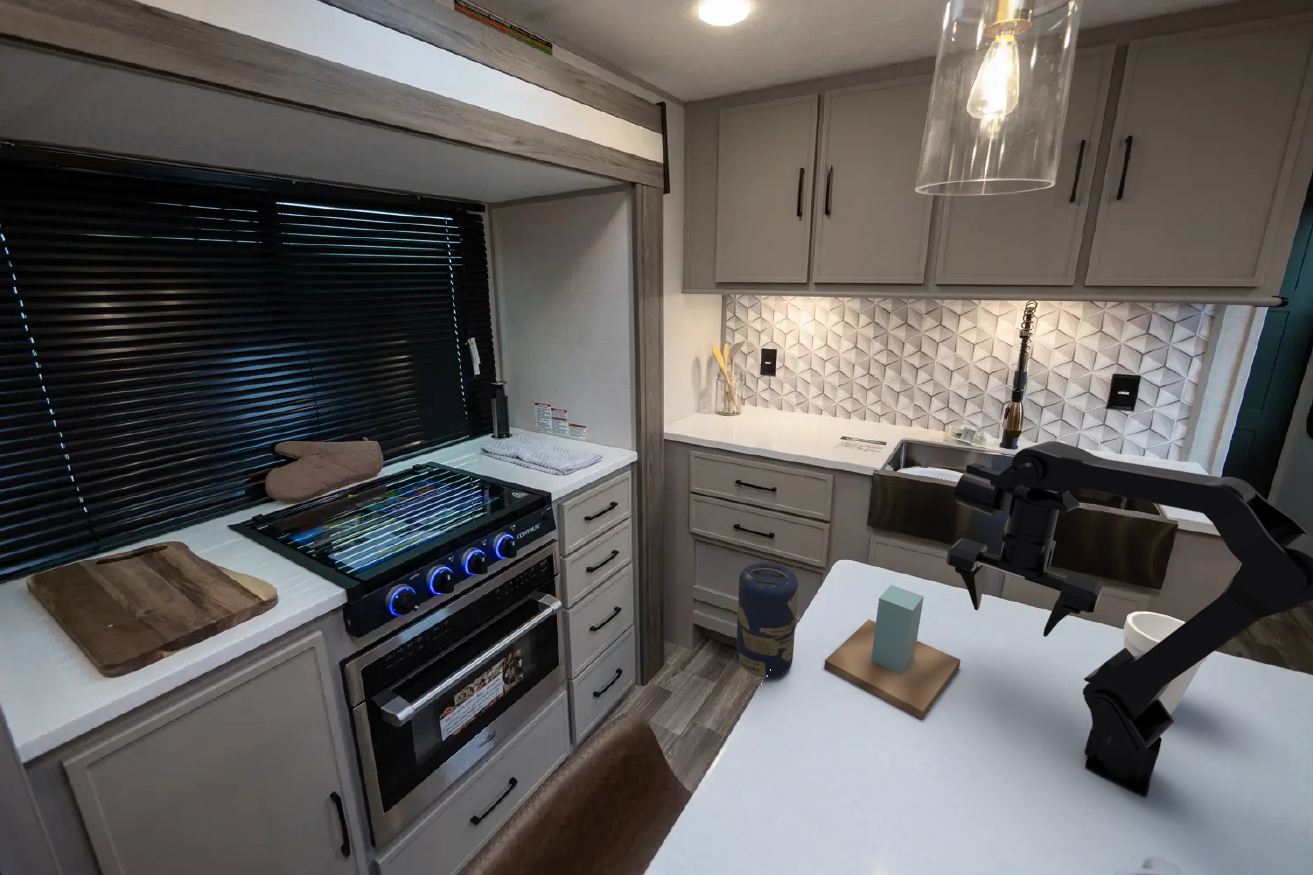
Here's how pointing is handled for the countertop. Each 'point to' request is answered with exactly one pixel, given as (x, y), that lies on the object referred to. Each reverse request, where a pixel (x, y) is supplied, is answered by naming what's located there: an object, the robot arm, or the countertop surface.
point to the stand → (900, 690)
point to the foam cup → (1147, 633)
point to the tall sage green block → (896, 628)
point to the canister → (766, 619)
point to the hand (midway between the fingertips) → (1009, 621)
